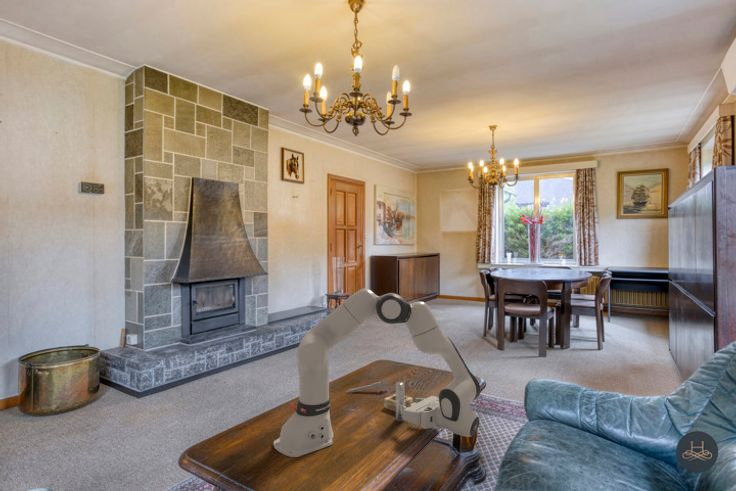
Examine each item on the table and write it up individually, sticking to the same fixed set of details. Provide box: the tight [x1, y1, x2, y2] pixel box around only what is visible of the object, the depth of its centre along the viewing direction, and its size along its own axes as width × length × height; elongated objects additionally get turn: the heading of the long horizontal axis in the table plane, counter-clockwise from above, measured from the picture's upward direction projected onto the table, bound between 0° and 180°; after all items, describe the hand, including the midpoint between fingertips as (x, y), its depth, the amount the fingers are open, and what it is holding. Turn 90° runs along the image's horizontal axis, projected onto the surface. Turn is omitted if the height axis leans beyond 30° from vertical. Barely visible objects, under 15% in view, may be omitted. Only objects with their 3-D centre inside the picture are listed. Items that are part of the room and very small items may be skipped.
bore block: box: [383, 393, 414, 413], centre depth 174 cm, size 9×9×4 cm
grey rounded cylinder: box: [395, 381, 406, 423], centre depth 162 cm, size 4×4×15 cm
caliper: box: [345, 378, 388, 394], centre depth 192 cm, size 20×1×6 cm, turn 95°
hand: (408, 403), depth 158 cm, fingers open, 8 cm apart
